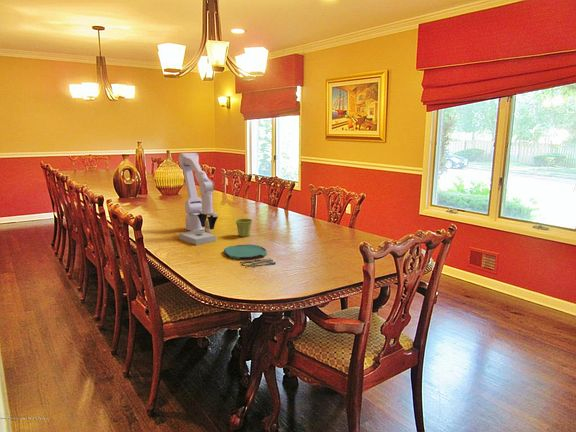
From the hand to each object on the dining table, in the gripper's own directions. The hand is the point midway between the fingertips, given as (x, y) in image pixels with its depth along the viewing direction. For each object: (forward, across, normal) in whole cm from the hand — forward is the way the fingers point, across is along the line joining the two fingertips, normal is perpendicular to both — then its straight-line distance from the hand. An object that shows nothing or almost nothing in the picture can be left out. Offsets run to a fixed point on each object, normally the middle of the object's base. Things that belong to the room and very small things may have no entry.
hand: (207, 227), depth 233 cm
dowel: (+4, 0, 0) cm, 4 cm away
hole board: (+4, +5, -10) cm, 12 cm away
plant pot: (+4, +14, +14) cm, 20 cm away
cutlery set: (+5, +45, -9) cm, 46 cm away
